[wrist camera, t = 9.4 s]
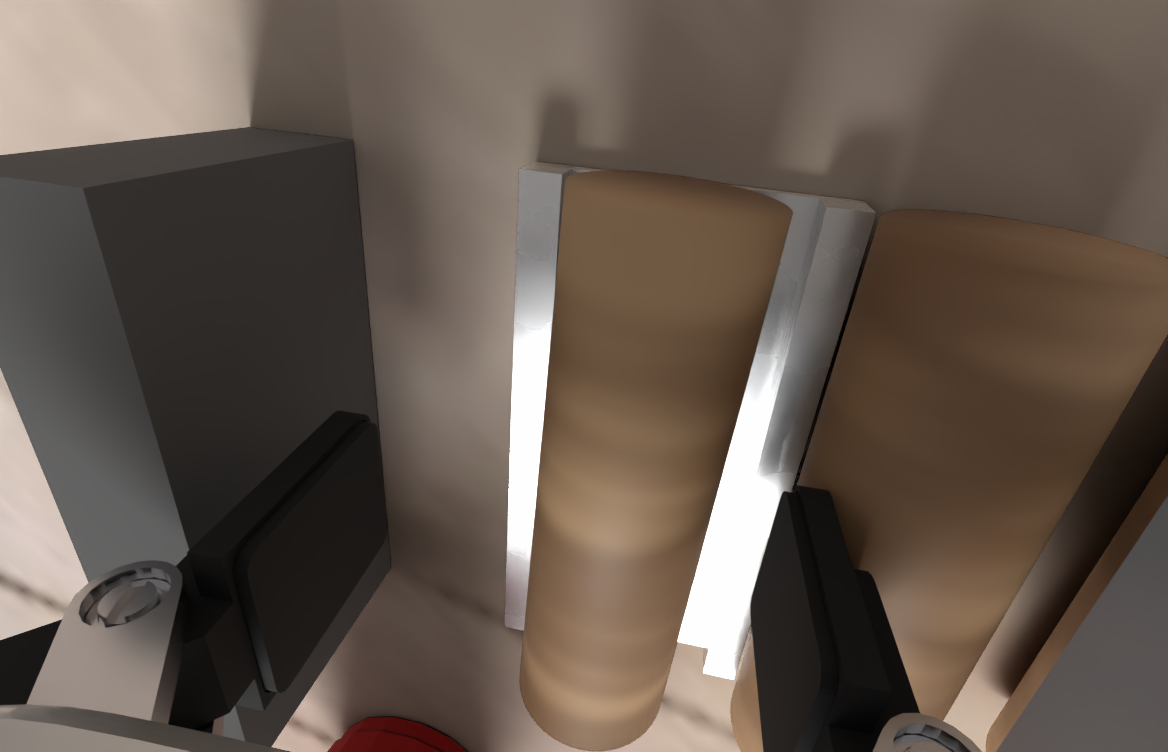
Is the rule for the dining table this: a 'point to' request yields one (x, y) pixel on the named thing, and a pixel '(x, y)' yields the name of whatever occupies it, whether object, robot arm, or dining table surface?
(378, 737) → the plastic cup
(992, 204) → the dining table surface
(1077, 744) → the slab
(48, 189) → the block
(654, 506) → the roller
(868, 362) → the roller bed
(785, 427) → the grey flat plate
